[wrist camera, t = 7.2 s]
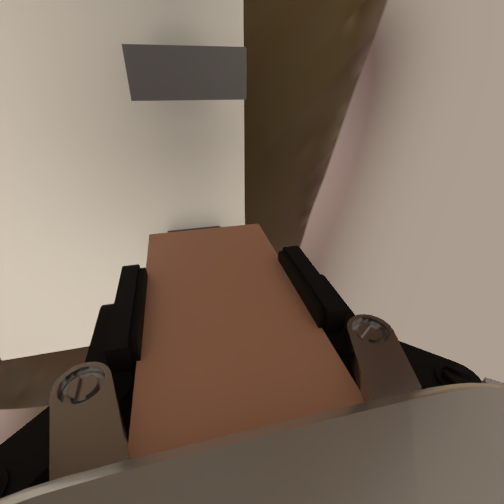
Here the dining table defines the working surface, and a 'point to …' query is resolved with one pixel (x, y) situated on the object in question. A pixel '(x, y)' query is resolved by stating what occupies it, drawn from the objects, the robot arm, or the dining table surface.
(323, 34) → the dining table surface
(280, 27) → the dining table surface
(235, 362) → the domino
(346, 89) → the dining table surface
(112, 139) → the mat
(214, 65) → the domino
